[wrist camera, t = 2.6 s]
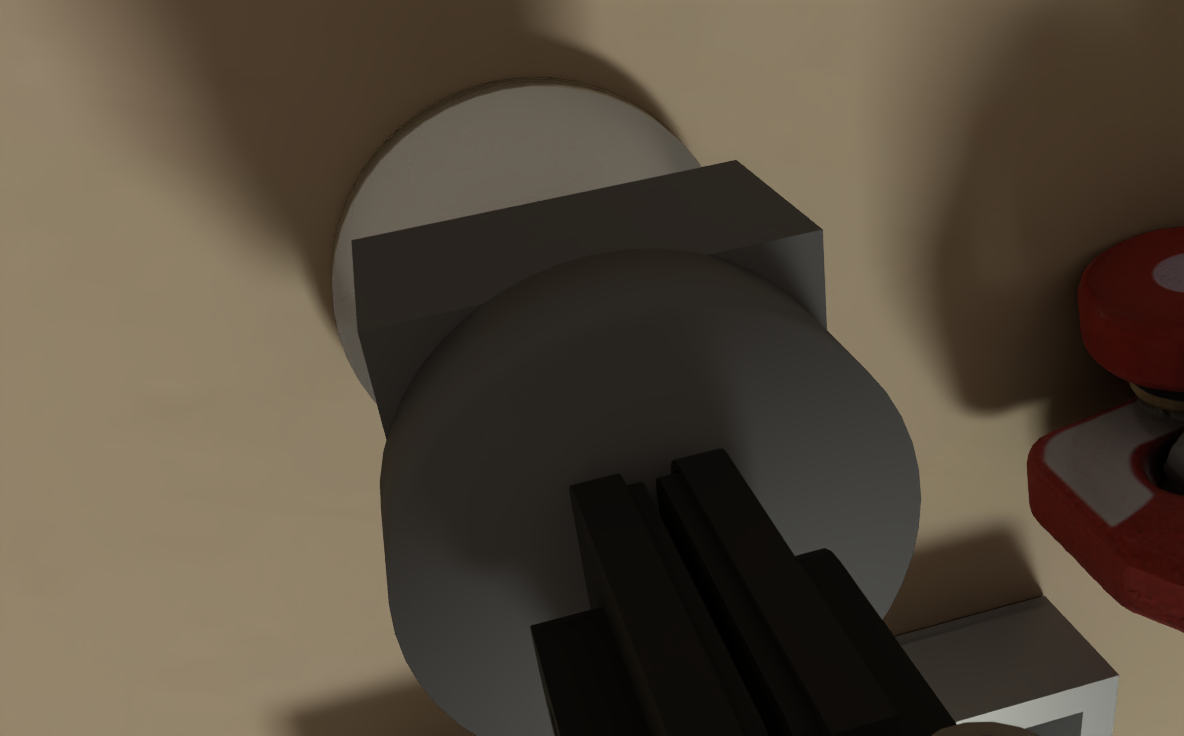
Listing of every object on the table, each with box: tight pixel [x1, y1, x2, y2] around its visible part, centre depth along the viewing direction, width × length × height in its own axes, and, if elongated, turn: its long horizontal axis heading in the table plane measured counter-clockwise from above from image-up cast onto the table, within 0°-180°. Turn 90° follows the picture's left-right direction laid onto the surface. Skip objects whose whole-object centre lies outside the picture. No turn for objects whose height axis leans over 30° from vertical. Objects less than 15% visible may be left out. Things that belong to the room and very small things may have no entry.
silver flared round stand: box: [332, 77, 701, 403], centre depth 17 cm, size 7×7×5 cm
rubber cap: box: [351, 160, 921, 736], centre depth 14 cm, size 6×6×5 cm
